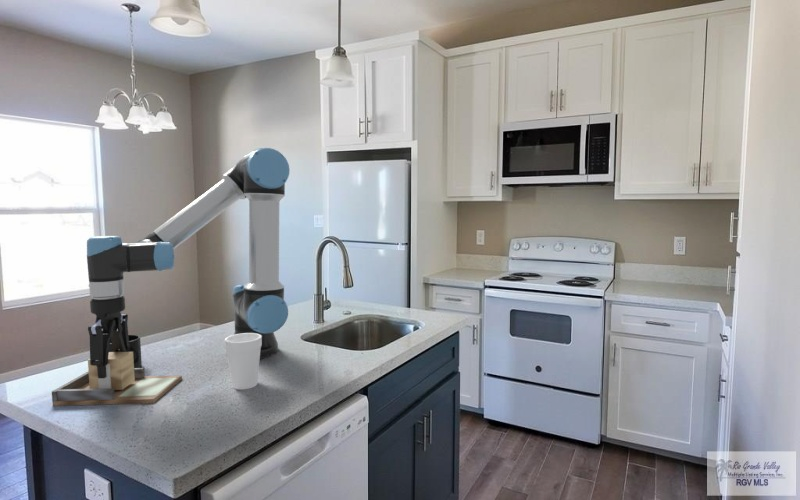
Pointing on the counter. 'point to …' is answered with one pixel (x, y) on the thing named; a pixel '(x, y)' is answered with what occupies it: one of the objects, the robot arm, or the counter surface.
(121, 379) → the oak block
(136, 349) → the mug
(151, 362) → the counter surface
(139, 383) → the slot board
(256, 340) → the foam cup
